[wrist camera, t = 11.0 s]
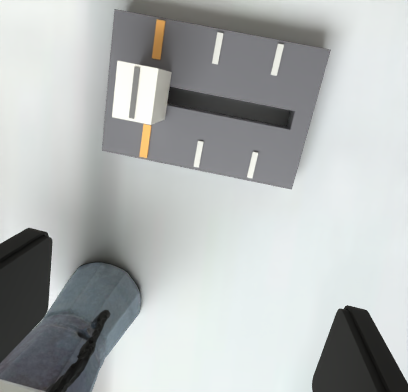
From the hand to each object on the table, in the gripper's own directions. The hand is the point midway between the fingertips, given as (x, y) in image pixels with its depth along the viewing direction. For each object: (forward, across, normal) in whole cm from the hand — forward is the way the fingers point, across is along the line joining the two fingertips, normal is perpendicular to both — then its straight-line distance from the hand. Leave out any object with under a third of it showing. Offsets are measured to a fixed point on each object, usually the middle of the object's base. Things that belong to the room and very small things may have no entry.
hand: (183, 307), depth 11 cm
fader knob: (+23, +8, -6) cm, 25 cm away
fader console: (+24, +3, -6) cm, 24 cm away
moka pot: (+24, +11, +17) cm, 32 cm away
